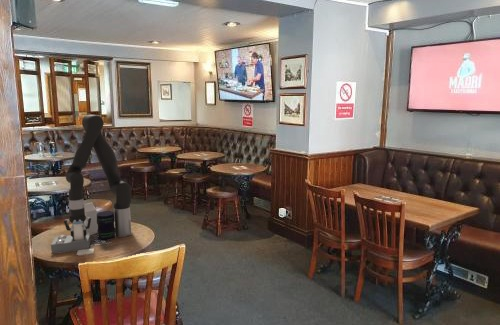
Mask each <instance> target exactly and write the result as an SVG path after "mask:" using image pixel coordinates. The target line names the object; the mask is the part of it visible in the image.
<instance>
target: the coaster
mask: <svg viewBox="0 0 500 325" xmlns="http://www.w3.org/2000/svg"><path fill="white" fill-rule="evenodd" d="M94 252H95V248H89V249H84V250H78V251H77V252H76V256H77V255H78V256H84V255H85V254H86V255H93V254H94Z"/></svg>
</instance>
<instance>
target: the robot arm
mask: <svg viewBox="0 0 500 325" xmlns="http://www.w3.org/2000/svg"><path fill="white" fill-rule="evenodd" d="M81 124H82V125H81V126H82V128H83V129H84V131H85V135H84V137H83V139H82V141H81V143H80V144H79V145H78V147H77V149H76V151H75V153H74V157H73V159H72V162H71V164H70V166H69V167H68V169H67V172H66V174H65V180H66V182H68V183H69V184H70V188H69V190H68V208H69V210H68V211H69V218H68V219H67V218H65V219H64V220H63V223H64V226H65V229H66V231H70V235H71V237H72V238H73V237H74V232H73V228H74V224H73V222H76V221H79V222H82V221H83V222H82V223H81V224H82V227H83V229H84V230H83V232H84V236H85V235H86V234H87V230H86V229H89V228H90V223H91V217H89V218H88V217H86V216H85V208H84V204H85V201H84V182H85V179H84V175H83V174H82V170H83V169H85V168H86V166H87V164H88V161H89V158H90V155H91V153H92V150H94V152H95V155H96V157H97V159H98V162H99V164H100V166H101V168H102V170H103V172H104V175H105V176H106V179H107V182H108V185H109V189H110V192H111V193H112V194H113V195H114V196H116V198H115V199H116V200H115V202H114V203H113V212H114V220H115V221H114V227H115V237H116V238H125V237H130V236H132V221H131V220H132V218H131V202H132V188H131V184H129V183H128V182H127V181H123V180H122V178H121V176H120V174H119V171H118V160H117V157H116V155H115V153H114V150H113V148H112V147H111V145H110V144H109V143H108V141H107V140H106V138H105V137H104V136H103V133H102V129H103V127H104V120H103V118H102V117H101V115H98V114H87V115H85V116H83V117H82V120H81ZM85 220H87V221H88V225H87V226H86V225H85V223H84V221H85ZM69 223H71V227H70V224H69Z"/></svg>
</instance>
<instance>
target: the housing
mask: <svg viewBox="0 0 500 325" xmlns="http://www.w3.org/2000/svg"><path fill="white" fill-rule="evenodd" d="M57 240H60V239H59V236H54V238H53V240H52V242H51V244H50V248H51V249H50V250H51V254H59V253H68V252H76V251H77V252H78V250H84V249H90V244H91V243H92V242H91V235H90V233H89V234H86V235H85V236H84V239H83V240H74V237H73V238H72V237H71V234H70V235H65V239H63V243H59V244H57Z"/></svg>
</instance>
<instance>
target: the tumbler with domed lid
mask: <svg viewBox="0 0 500 325" xmlns="http://www.w3.org/2000/svg"><path fill="white" fill-rule="evenodd" d="M82 222H83V221H82ZM82 222H79V221H76V222H73V224H74V228H73V232H74V240H83V239H84V232H83V230H84V229H83V227H82V224H81V223H82Z"/></svg>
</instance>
